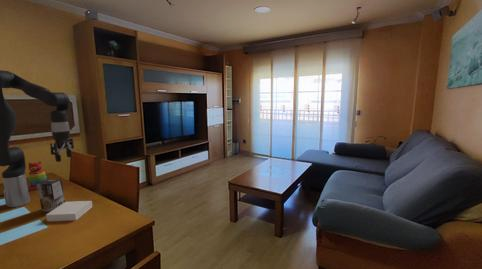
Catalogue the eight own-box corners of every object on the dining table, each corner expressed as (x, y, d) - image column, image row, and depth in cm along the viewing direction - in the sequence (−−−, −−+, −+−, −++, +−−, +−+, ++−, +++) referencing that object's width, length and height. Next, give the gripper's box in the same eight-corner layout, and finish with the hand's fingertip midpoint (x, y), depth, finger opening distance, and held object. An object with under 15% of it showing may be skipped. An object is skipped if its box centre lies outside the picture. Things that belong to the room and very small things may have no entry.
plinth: (47, 222, 113) (45, 214, 112) (66, 208, 126) (65, 201, 126) (76, 221, 114) (75, 213, 113) (92, 207, 127) (91, 200, 127)
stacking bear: (25, 191, 148) (20, 165, 145) (32, 186, 157) (27, 161, 154) (45, 188, 152) (41, 163, 149) (51, 183, 161) (47, 159, 158)
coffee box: (66, 206, 128) (62, 179, 125) (56, 212, 121) (51, 183, 119) (51, 205, 129) (47, 178, 126) (40, 211, 122) (36, 183, 120)
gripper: (62, 128, 128) (65, 155, 131) (42, 132, 114) (46, 163, 117) (76, 128, 128) (79, 155, 131) (58, 132, 114) (62, 163, 117)
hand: (64, 159), depth 124 cm, fingers open, 8 cm apart
